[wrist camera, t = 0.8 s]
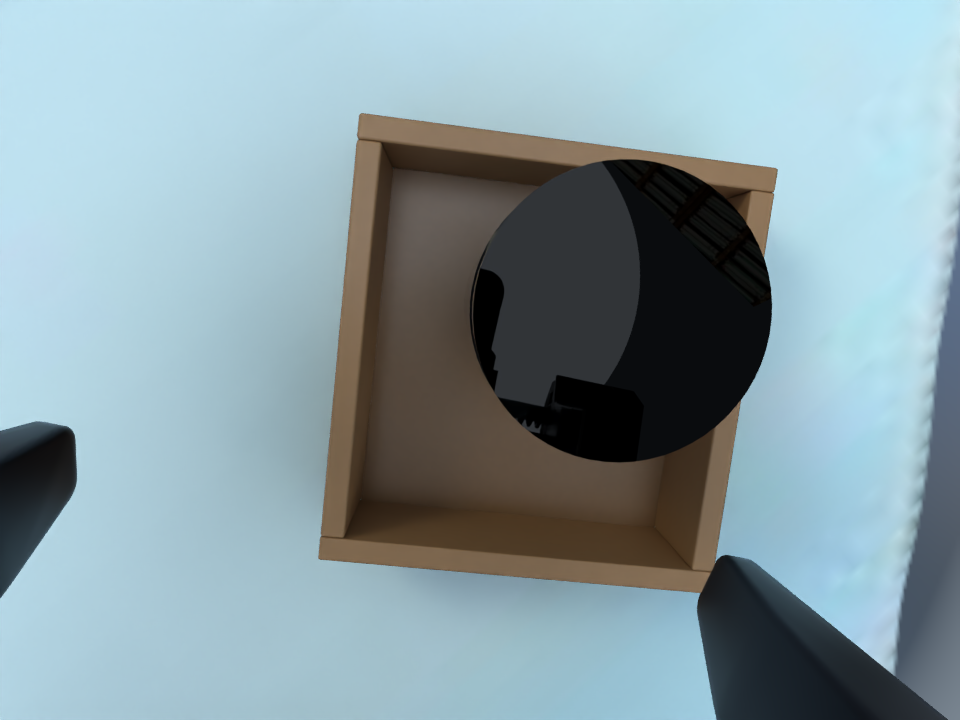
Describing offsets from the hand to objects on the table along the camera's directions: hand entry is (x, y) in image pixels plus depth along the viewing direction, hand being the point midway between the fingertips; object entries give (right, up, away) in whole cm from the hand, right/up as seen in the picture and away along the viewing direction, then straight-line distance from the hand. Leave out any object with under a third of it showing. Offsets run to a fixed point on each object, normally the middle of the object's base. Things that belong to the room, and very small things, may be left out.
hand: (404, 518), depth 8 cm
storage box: (+3, +2, +16) cm, 16 cm away
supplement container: (+4, +4, +16) cm, 17 cm away
